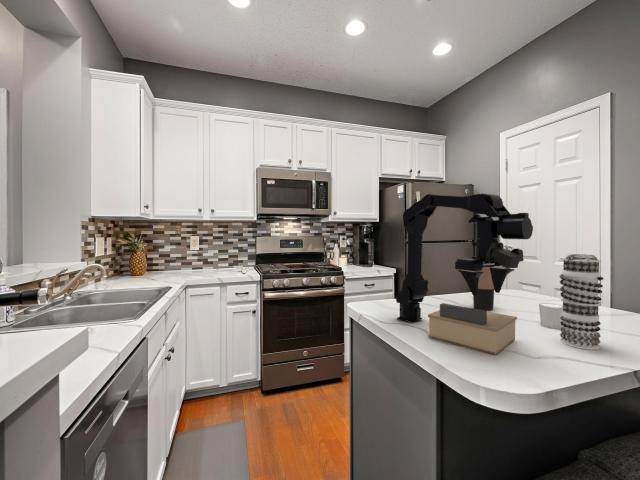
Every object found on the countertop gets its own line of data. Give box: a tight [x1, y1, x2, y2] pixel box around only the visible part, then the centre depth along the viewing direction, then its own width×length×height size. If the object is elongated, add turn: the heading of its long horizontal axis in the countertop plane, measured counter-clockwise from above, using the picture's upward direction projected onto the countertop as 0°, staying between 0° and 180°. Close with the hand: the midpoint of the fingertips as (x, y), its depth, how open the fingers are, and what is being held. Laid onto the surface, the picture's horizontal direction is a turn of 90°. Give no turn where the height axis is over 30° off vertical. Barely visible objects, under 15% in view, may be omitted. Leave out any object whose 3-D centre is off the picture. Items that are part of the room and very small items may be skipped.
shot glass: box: [538, 302, 563, 330], centre depth 100 cm, size 7×7×7 cm
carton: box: [428, 317, 516, 356], centre depth 89 cm, size 18×16×6 cm
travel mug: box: [472, 266, 495, 312], centre depth 123 cm, size 8×8×20 cm
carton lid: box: [427, 302, 518, 332], centre depth 89 cm, size 19×17×4 cm
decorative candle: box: [559, 253, 604, 351], centre depth 84 cm, size 9×9×25 cm
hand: (486, 294), depth 85 cm, fingers open, 9 cm apart
